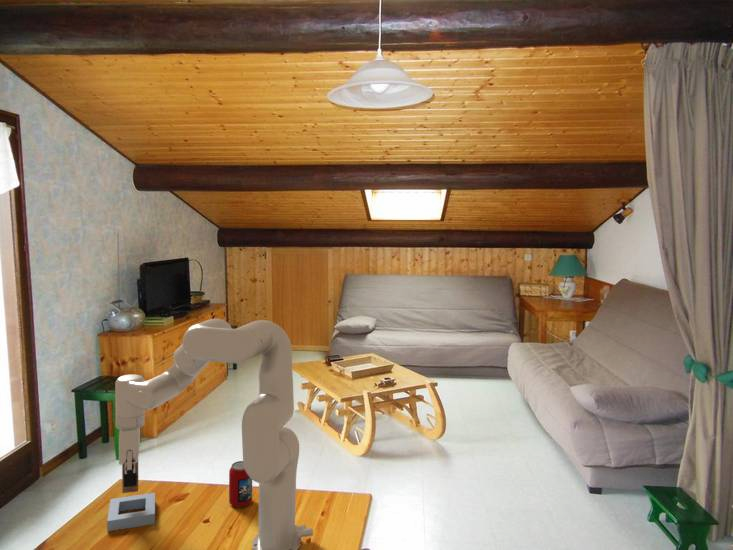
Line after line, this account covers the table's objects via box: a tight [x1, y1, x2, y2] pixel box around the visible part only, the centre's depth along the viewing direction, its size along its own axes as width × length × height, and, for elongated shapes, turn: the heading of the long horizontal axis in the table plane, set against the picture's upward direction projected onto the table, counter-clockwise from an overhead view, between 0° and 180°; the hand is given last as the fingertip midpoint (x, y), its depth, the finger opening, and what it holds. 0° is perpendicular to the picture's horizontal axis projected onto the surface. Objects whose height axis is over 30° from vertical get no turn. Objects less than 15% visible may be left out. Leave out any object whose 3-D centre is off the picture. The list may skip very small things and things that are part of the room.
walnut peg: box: [121, 452, 139, 494], centre depth 154 cm, size 4×4×11 cm
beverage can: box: [228, 460, 253, 508], centre depth 163 cm, size 7×7×12 cm
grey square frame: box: [106, 492, 156, 532], centre depth 155 cm, size 12×12×3 cm
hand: (130, 481), depth 154 cm, fingers closed on walnut peg, 4 cm apart
